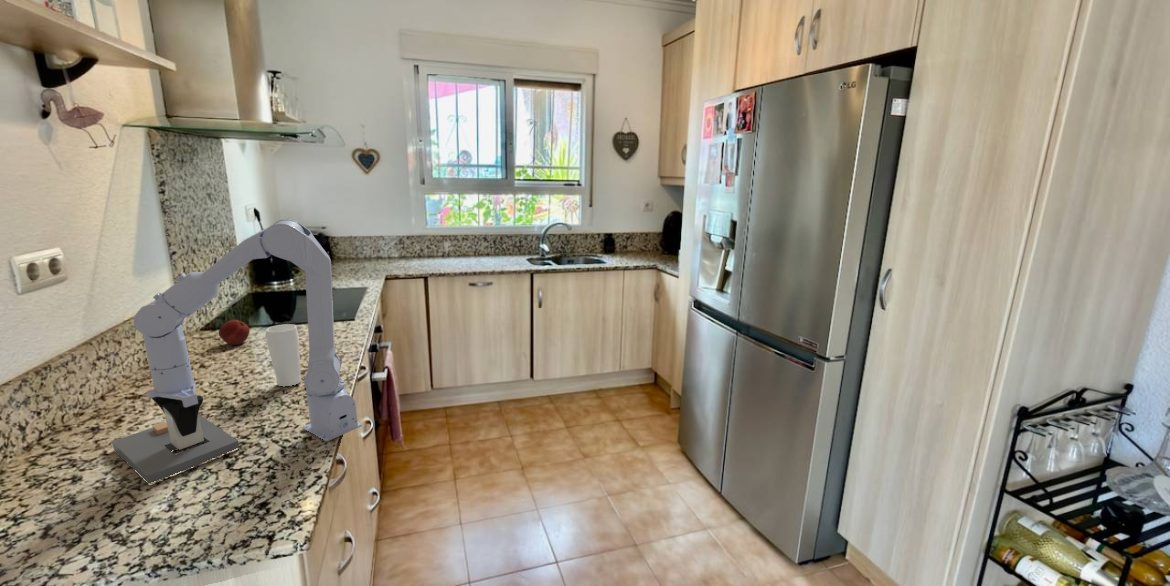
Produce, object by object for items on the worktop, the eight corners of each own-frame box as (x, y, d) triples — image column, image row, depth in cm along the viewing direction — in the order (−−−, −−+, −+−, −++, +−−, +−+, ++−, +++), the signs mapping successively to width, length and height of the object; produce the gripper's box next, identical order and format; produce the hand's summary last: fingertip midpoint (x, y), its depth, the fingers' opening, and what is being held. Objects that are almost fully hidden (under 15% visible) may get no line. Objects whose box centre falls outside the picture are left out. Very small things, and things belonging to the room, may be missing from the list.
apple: (243, 347, 152) (239, 323, 150) (215, 349, 151) (210, 324, 149) (255, 339, 159) (251, 316, 157) (228, 341, 158) (224, 317, 156)
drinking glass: (270, 390, 123) (261, 333, 120) (279, 379, 130) (270, 324, 126) (300, 387, 125) (292, 331, 121) (307, 376, 131) (300, 322, 128)
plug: (204, 440, 96) (197, 403, 95) (178, 450, 93) (170, 411, 91) (196, 434, 99) (188, 397, 97) (170, 443, 95) (162, 405, 93)
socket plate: (239, 449, 97) (237, 436, 97) (149, 486, 86) (145, 471, 85) (198, 421, 108) (196, 408, 108) (114, 450, 97) (110, 436, 96)
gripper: (129, 362, 93) (144, 428, 96) (156, 380, 85) (172, 451, 88) (175, 351, 98) (188, 413, 102) (205, 367, 90) (218, 434, 94)
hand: (184, 430), depth 95 cm, fingers closed on plug, 4 cm apart
